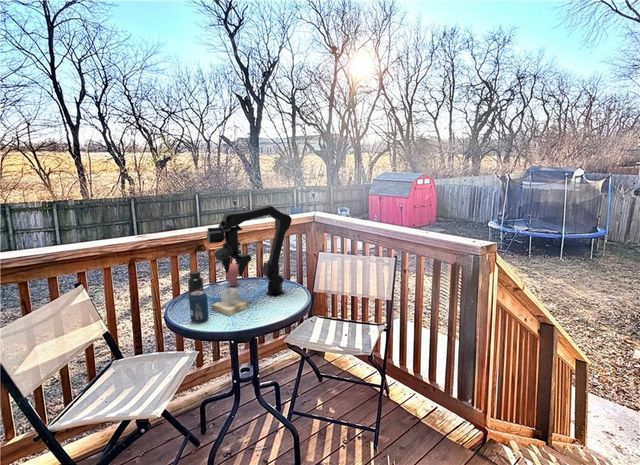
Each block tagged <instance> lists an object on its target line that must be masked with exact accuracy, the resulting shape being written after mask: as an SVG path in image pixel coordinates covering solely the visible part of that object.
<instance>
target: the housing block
mask: <svg viewBox="0 0 640 465" xmlns="http://www.w3.org/2000/svg"><path fill="white" fill-rule="evenodd" d="M239 293H240V292H239V289H237V288H235V287H233V286H232V287H229V288H226V289H224V290H221V291H220V301H221V304H222V305H224V306H227V307H229V306H232V305H234V304H237V303H239V299H240V295H239Z"/></svg>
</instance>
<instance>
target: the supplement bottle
mask: <svg viewBox="0 0 640 465" xmlns="http://www.w3.org/2000/svg"><path fill="white" fill-rule="evenodd" d="M187 289H188V297H189V296H190V293H191V292H193V291H196V290H203V291H205V290H204V289H205V288H204V279H203V277H202V276H201V271H197V270H194V271H190V272H189V278H188V280H187Z"/></svg>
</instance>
